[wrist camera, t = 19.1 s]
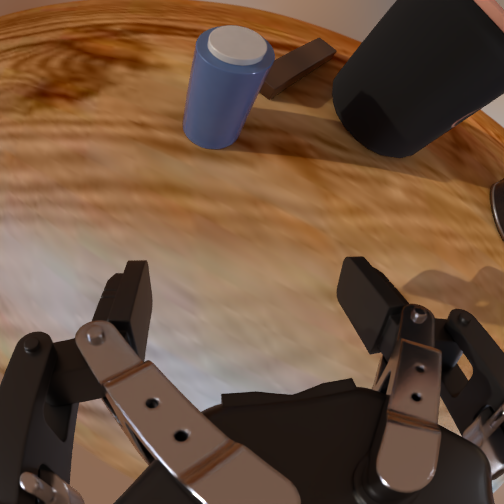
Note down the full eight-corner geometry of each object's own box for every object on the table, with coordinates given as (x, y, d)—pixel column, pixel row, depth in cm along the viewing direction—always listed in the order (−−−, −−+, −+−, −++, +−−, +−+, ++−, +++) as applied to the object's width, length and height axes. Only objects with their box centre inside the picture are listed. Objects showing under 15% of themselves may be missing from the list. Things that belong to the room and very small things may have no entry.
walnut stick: (313, 46, 27) (319, 37, 25) (331, 59, 27) (337, 50, 25) (248, 83, 23) (252, 72, 22) (269, 100, 23) (275, 89, 22)
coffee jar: (409, 183, 26) (561, 93, 9) (314, 123, 24) (451, -33, 7) (413, 112, 29) (519, 27, 12) (336, 61, 27) (429, -56, 10)
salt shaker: (211, 94, 22) (236, 12, 14) (252, 127, 22) (293, 50, 14) (170, 123, 20) (180, 36, 12) (212, 160, 21) (241, 79, 13)
